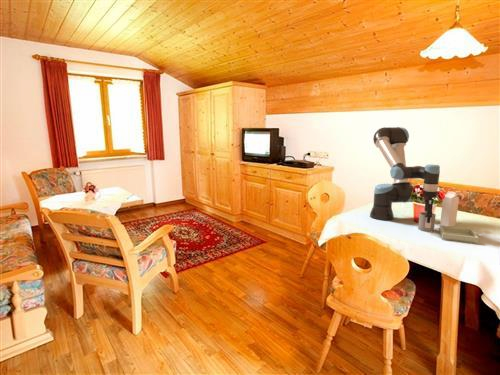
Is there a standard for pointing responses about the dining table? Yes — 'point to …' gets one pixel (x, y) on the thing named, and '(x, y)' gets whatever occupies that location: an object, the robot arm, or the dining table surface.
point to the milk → (449, 209)
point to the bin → (458, 234)
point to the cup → (423, 219)
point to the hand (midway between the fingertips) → (426, 224)
